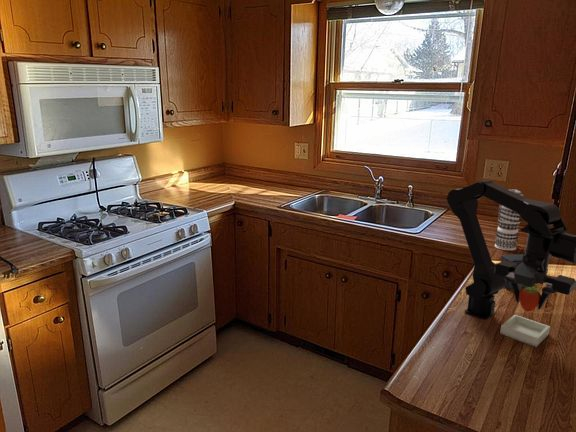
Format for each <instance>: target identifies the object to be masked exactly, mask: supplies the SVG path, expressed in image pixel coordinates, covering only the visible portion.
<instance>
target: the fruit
mask: <svg viewBox="0 0 576 432" xmlns="http://www.w3.org/2000/svg"><path fill="white" fill-rule="evenodd" d="M524 287H525V288H522V289H521V290H520V293H519V299H520V301H519V302H520V305H521V307H522V310H524V311H525V312H531V311H533V310H535V309H536V308H538V305H539V301H540V298H541V295H542V294H541V293H540V289H537V288H538V284H535V285H534V286H533V287H526V286H524Z"/></svg>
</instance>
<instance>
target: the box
mask: <svg viewBox="0 0 576 432" xmlns="http://www.w3.org/2000/svg"><path fill="white" fill-rule="evenodd" d="M523 255H524V254H521V253H520V254H504V255H501V259H500V262H501V261H503V260H506V261H510V262H514V263H516V264H517V267H518V266H519V264H520V263H521V261H522V259H523ZM506 277H507V275H506ZM524 286H526V285H522V288H525V287H524ZM526 287H527V286H526ZM503 289H506V290H514V289H513V286H512V284H511V283H510V282H509V281H508V280H506V279H505V285H504V288H503Z"/></svg>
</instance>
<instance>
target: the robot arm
mask: <svg viewBox="0 0 576 432" xmlns="http://www.w3.org/2000/svg"><path fill="white" fill-rule="evenodd" d="M481 198H486V199H488V200H490V201H493V202H495V203H496V204H499V206H500V205H502V206H504V207H506V208H508V209H510V210H512V211H514V212H516V213H517V214H519V215H520V217H521V220H522V221H523V222H525V223H526V225H525V226H524V227H521V228H520V229H519V230H520V232H522V233H523V232H524V233H527V239H526V244H525V245H526V246H525V249H524V254H523V259H522V261H521V263H520V264H519V266H518V267H517V264H516V263H514V262H510V261H506V260H503V261H501V260H500V262H498V263H496V264H495V263H494V261H493V259H492V258H491V254H490V252H489V248H488V246H487V243H486V240H485V239H486V238H485V237H484V234H483V230H482V228H481V225H480V223H479V218H478V216H477V214H478V213H477V212H478V207H479V203H478V202H479V201H478V200H479V199H481ZM446 202H447V205H448V206H449V209H450V211H451V212H452V214H453V215H455V216H456V218H457V219H458V220H459V221H460V222H459V223H460V225H461V228H462V231H463V234H464V237H465V240H466V243H467V247H468V250H469V253H470V256H471V260H472V262H473V264H474V265H473V270H472V280H473V283H471V284H469V285H467V286H466V287H465V289H464V290H465V294H466V296H468V301H467V302H468V303H467V308H466V309H465V310H464V313H466V314H469V315H472V316H474V317H477V318H479V319H481V320H482V319H483V320H487V319H488V318H489V317H491V316H492V315H494V314H495V309H496V301H495V295H497V294H499V292H500V291H502V290H503V289H505V288H504V285H505V279H506V280H508V281H509V282H510V283H511V284H512V286H513V289H512V290H513V293H514V296H515V301H516V303H519V302H520V299H519V293H520V290H521V289H522V285H526V286H527V287H534V286H535V285H538V284H539V285H544V283H545V286H543V288H541V294H540V295H541V298H540V301H539V304H538V305H537V310H541V309H542V307H543V306H544V304H545V303H546V301H547V300H548V299H549V296H550V295H551V294H556V293H558V294H559V293H560V294H562V295H563V294H564V295H567V296H568V295H569V296H570V294H572V292H573V291H574V290H575V289H576V279H575V278H573V277H570V276H565V275H562V274H559V275H558V276H556V277H553V276H549V275H547V274H548V271H549V268H548V267H549V261H550V259H551V256H552V257H553V258H555V259H558V260H559V259H560V260H562V261H566V262H569V263H572V264H576V234H573V233H568V232H569V229H568V228H567V226H566V224H565V222H564V220H563V218H562V216H561V214H562V213H561V212H560V211H561V210H560V208H559V206H557V205H555V204H554V203H550V202H546V201H541V200H535V199H531V198H527V197H525V196H524V195H523V196H521V195H519V194H516V193H514V192H512V191H510V190H508V188H506V187H504V186H501V185H500V184H497V183H494V181H492V180H489V179H486V180H478V181H476V182H475V183H473V184H471V185H468V186H465V187H461V188H455V189H451V190H450V191H448V193H447V196H446ZM551 226H553V227H551ZM550 227H551V228H550ZM506 275H507V277H506Z"/></svg>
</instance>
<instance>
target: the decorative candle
mask: <svg viewBox="0 0 576 432" xmlns="http://www.w3.org/2000/svg"><path fill="white" fill-rule="evenodd" d="M507 189H508V188H507ZM508 190H510V191H512V192H514V193H516V194H519V195H521V196H523V197H524V194H523V193H522V192H521V190H519V189H513V188H510V189H508ZM498 208H499V209H498V216H497V221H498V226H497V230H496V233H495V238H494V239H495V240H494V243H495V244H494V247H495V248H497V249H499V250H502V251H515V250H517V246H518V244H517V243H518V238H519V225H520V223H521V220H520V218H521V217H520V215H519V214H517V213H516V212H514V211H512V210H510V209H508V208H506V207H504V206H502V205H500V204H499V205H498ZM521 219H522V218H521Z"/></svg>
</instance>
